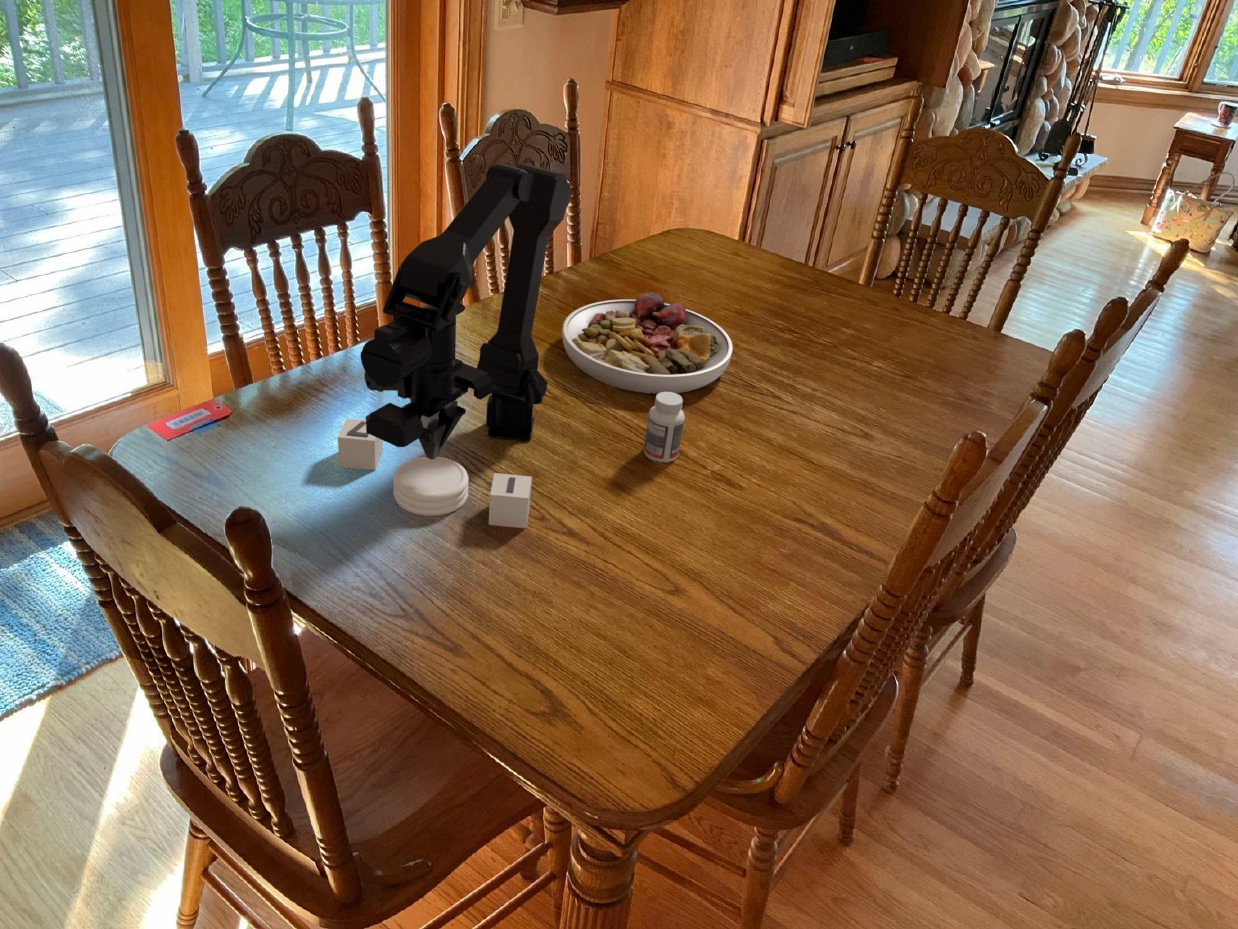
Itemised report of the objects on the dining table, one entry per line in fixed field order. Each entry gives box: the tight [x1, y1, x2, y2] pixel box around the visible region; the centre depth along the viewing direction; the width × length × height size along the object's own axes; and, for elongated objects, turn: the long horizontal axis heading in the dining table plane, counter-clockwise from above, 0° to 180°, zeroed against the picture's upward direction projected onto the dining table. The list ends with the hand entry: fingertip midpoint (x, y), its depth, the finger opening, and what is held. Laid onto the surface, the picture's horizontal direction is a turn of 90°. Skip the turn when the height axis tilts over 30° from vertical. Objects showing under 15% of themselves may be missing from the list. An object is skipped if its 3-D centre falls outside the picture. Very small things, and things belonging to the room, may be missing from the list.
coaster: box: [392, 456, 469, 517], centre depth 132 cm, size 10×10×4 cm
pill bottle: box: [643, 392, 685, 463], centre depth 145 cm, size 5×5×10 cm
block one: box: [488, 472, 533, 529], centre depth 130 cm, size 5×5×5 cm
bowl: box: [561, 291, 733, 395], centre depth 172 cm, size 30×30×8 cm
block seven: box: [337, 418, 384, 471], centre depth 137 cm, size 5×5×5 cm
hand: (431, 457), depth 130 cm, fingers closed
